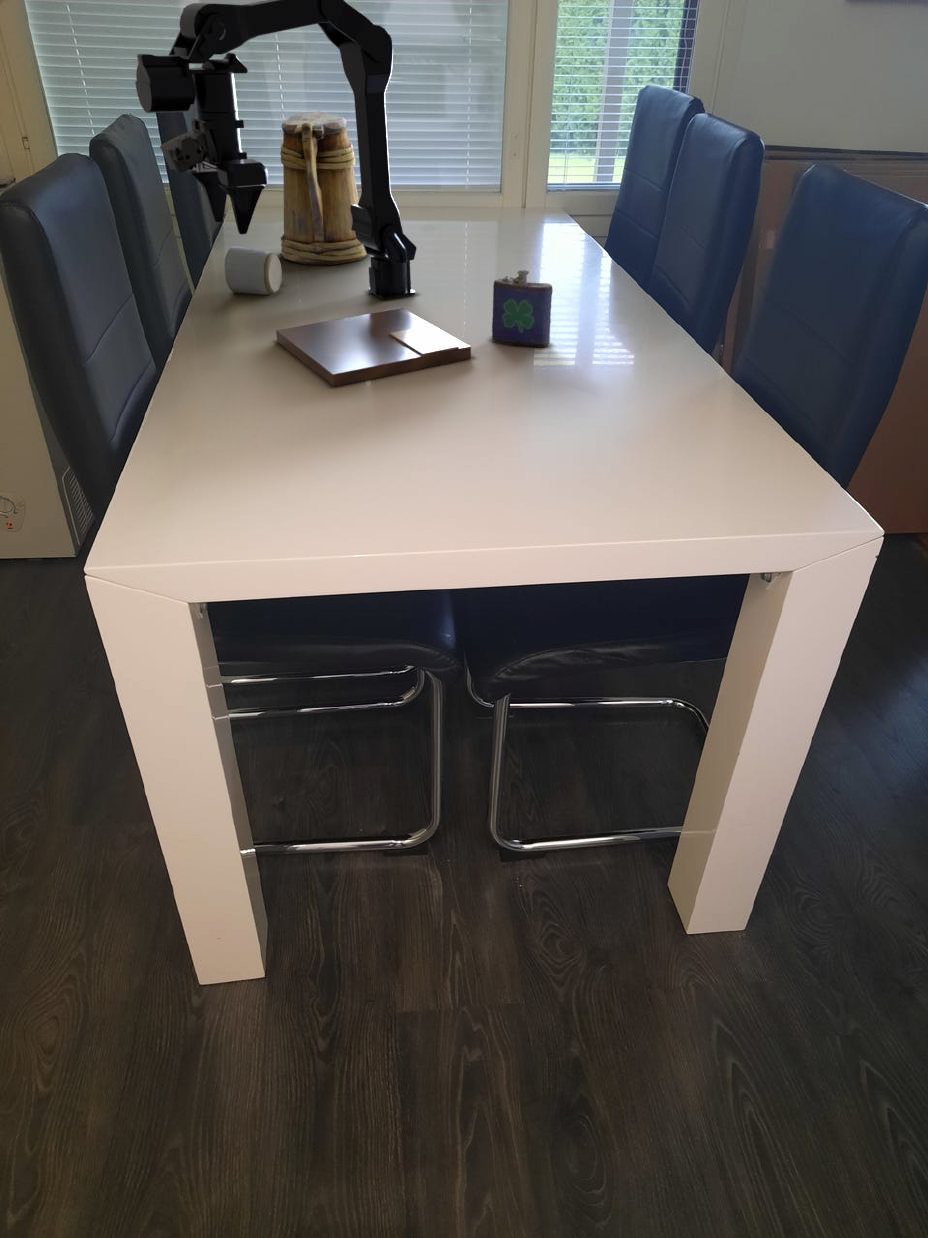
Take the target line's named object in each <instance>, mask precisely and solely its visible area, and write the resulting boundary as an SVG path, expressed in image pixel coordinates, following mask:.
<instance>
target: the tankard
mask: <svg viewBox="0 0 928 1238" xmlns="http://www.w3.org/2000/svg"><path fill="white" fill-rule="evenodd" d="M347 126H348V122H347V120H346V119H345V118H344V117H343V116H341V115H339V114H336V113H329V112H323V111H320V110H317V111H310V112H309V111H308V112H304V113H297V114H294V115H292V116H290V117H288V118H286V119H285V120H284V121H283V122H282V124H281V130H282V133H283V134H282V137H283V139H282V140H283V141H282V143H281V146H280V163H281V164H282V166H283V167H282V168H283V233H282V234H281V236H280V242H281V244H280V246H281V249H280V251H281V256H282V257H283V258H284V259H286V260H288V261H291V262H293V263H297V264H302V265H311V266H316V265H330V266H331V265H341V264H347V263H352V262H356V261H359V260H361V259H364V258H365V257H366V256H367V255H368V254H367V253H366V251H365V248H364V246H363V245H362V244H361V243H360V242H359V240H357V238H356V234H355V231H353V230H351V228H352V215H351V210H350V207H351V205H358V202H359V200H360V198H359V194H358V188H357V181H356V176H355V170H354V166H355V165H356V158H355V151H354V146H353V144H352V142H351V141H350V140H349V136H348V131H347Z"/></svg>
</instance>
